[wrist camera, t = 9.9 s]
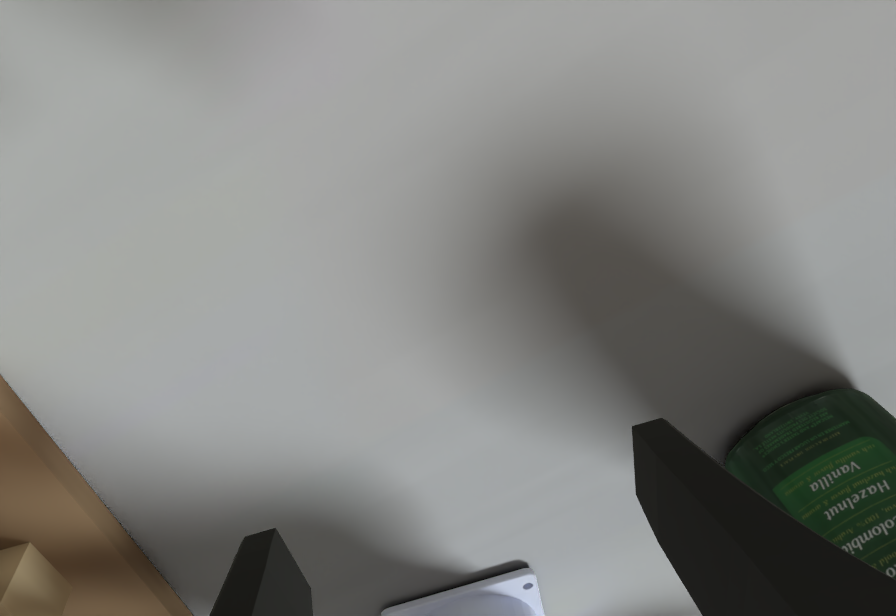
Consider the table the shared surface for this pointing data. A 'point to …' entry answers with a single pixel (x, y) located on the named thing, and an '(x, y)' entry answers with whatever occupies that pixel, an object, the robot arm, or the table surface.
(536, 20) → the table surface
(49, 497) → the display stand
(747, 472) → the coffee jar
